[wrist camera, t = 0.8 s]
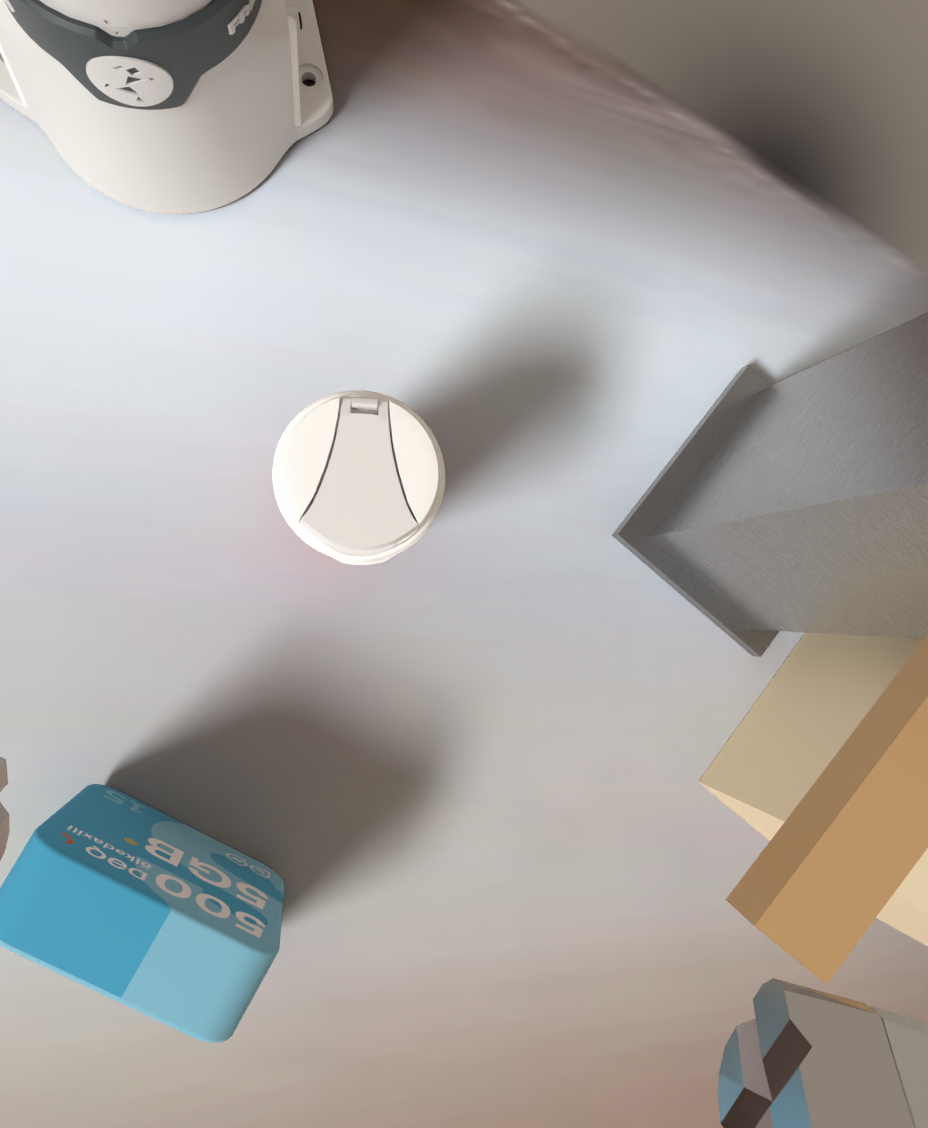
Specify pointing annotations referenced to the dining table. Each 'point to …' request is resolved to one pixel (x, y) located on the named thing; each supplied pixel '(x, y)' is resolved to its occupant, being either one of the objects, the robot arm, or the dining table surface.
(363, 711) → the dining table surface
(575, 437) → the dining table surface
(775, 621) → the dispenser stand
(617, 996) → the dining table surface
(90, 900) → the data package
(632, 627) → the dining table surface
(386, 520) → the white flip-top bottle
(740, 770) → the carton
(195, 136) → the robot arm
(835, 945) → the brown wooden bar
